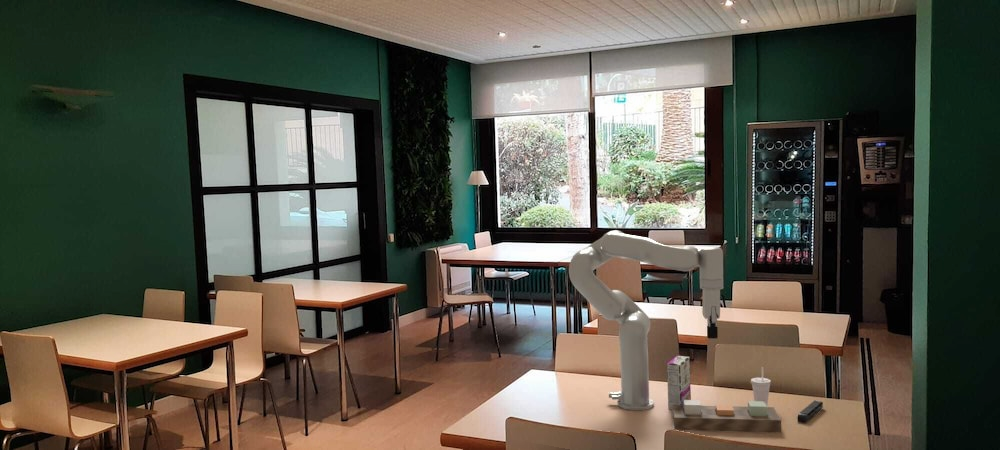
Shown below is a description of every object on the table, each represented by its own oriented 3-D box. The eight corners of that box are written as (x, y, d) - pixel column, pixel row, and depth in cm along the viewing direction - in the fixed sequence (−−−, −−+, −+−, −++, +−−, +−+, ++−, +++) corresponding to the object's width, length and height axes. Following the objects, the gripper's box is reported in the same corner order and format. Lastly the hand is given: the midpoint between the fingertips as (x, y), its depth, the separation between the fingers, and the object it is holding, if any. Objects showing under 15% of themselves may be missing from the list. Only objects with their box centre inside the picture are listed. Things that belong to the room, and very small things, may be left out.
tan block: (717, 422, 222) (717, 409, 222) (715, 417, 227) (715, 404, 227) (734, 423, 221) (733, 410, 221) (731, 417, 226) (731, 405, 226)
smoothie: (772, 411, 234) (772, 370, 233) (752, 410, 236) (752, 370, 235) (769, 405, 241) (768, 365, 240) (749, 404, 242) (749, 364, 241)
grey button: (685, 417, 224) (684, 404, 223) (683, 412, 229) (683, 399, 228) (701, 418, 223) (700, 405, 222) (699, 412, 228) (699, 400, 227)
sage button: (750, 419, 220) (750, 406, 220) (747, 413, 225) (747, 401, 225) (767, 419, 219) (767, 406, 219) (764, 414, 224) (764, 401, 224)
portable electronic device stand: (805, 424, 222) (805, 415, 222) (797, 423, 224) (797, 414, 223) (823, 409, 235) (823, 400, 235) (815, 407, 237) (815, 399, 237)
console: (674, 429, 221) (674, 417, 221) (672, 416, 233) (672, 404, 233) (781, 433, 215) (781, 420, 215) (773, 419, 227) (773, 407, 227)
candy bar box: (677, 400, 249) (676, 355, 248) (691, 402, 247) (690, 356, 245) (667, 409, 240) (666, 362, 239) (681, 412, 237) (680, 364, 236)
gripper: (697, 280, 242) (698, 332, 243) (702, 287, 227) (703, 343, 229) (720, 280, 241) (721, 332, 242) (726, 287, 226) (727, 343, 227)
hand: (712, 337), depth 235 cm, fingers closed
